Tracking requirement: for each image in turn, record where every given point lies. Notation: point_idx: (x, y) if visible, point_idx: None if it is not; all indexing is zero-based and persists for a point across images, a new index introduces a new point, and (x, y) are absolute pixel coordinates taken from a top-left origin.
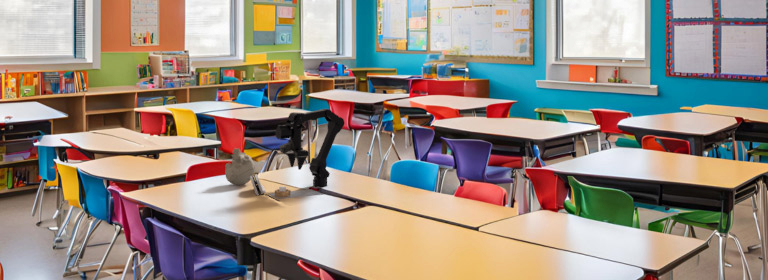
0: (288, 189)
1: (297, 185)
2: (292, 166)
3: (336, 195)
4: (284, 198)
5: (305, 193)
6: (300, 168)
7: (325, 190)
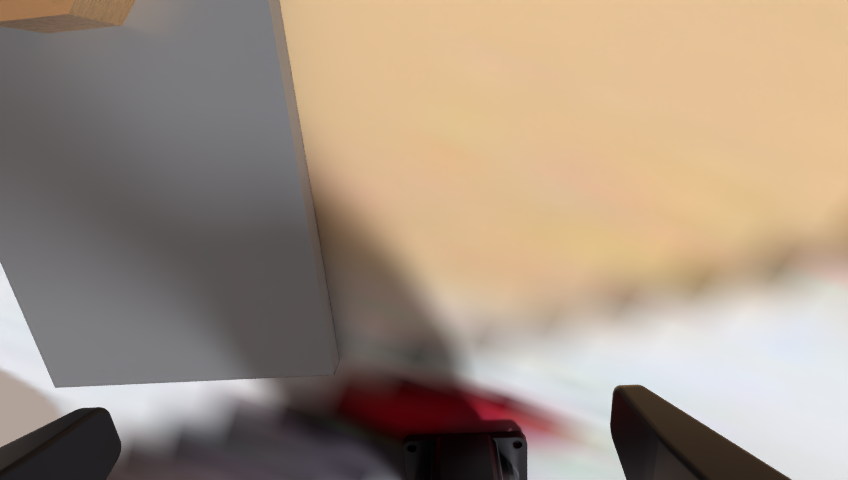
0: (50, 15)
1: (708, 349)
2: (613, 422)
3: (118, 473)
4: None
5: (124, 242)
6: (66, 467)
7: (352, 475)
